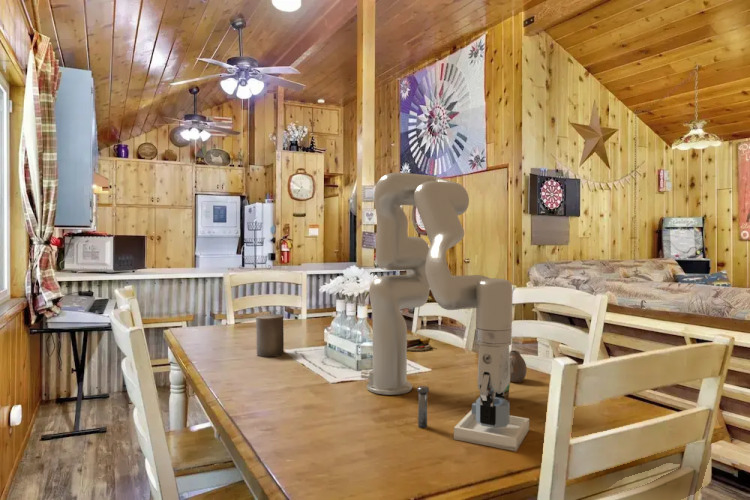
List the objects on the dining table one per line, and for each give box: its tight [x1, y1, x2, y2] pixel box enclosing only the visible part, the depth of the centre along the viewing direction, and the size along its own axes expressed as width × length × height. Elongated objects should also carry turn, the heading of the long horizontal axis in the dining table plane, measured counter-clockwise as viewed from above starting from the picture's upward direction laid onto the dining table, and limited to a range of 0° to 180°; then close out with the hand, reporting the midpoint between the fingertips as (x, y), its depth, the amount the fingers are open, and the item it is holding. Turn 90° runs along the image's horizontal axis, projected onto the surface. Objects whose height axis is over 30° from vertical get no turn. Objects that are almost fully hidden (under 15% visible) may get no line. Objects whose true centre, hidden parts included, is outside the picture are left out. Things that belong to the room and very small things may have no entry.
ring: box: [471, 396, 511, 428], centre depth 112 cm, size 7×8×4 cm
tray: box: [453, 409, 530, 452], centre depth 111 cm, size 13×13×2 cm
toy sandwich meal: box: [407, 333, 432, 352], centre depth 196 cm, size 12×14×5 cm
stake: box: [416, 385, 430, 429], centre depth 116 cm, size 3×3×9 cm
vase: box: [509, 350, 528, 383], centre depth 153 cm, size 7×7×9 cm
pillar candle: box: [255, 313, 285, 358], centre depth 185 cm, size 10×10×15 cm
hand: (492, 417), depth 111 cm, fingers closed on ring, 6 cm apart
